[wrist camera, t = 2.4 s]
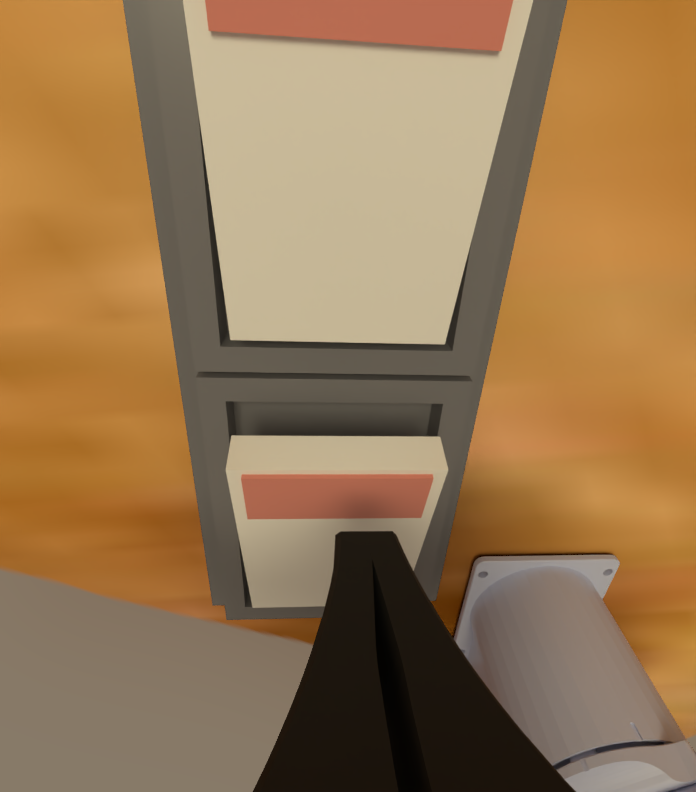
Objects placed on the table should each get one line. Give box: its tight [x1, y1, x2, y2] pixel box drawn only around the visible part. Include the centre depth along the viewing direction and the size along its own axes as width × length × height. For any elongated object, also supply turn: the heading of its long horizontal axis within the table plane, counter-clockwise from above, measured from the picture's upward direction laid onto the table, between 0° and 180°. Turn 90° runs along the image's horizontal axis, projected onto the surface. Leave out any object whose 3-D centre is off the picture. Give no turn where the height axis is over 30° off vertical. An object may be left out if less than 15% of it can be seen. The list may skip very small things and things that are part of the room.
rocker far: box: [226, 435, 448, 608], centre depth 16 cm, size 9×6×1 cm, turn 177°
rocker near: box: [183, 0, 533, 344], centre depth 10 cm, size 9×6×1 cm, turn 177°
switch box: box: [123, 0, 567, 620], centre depth 16 cm, size 24×10×5 cm, turn 177°
